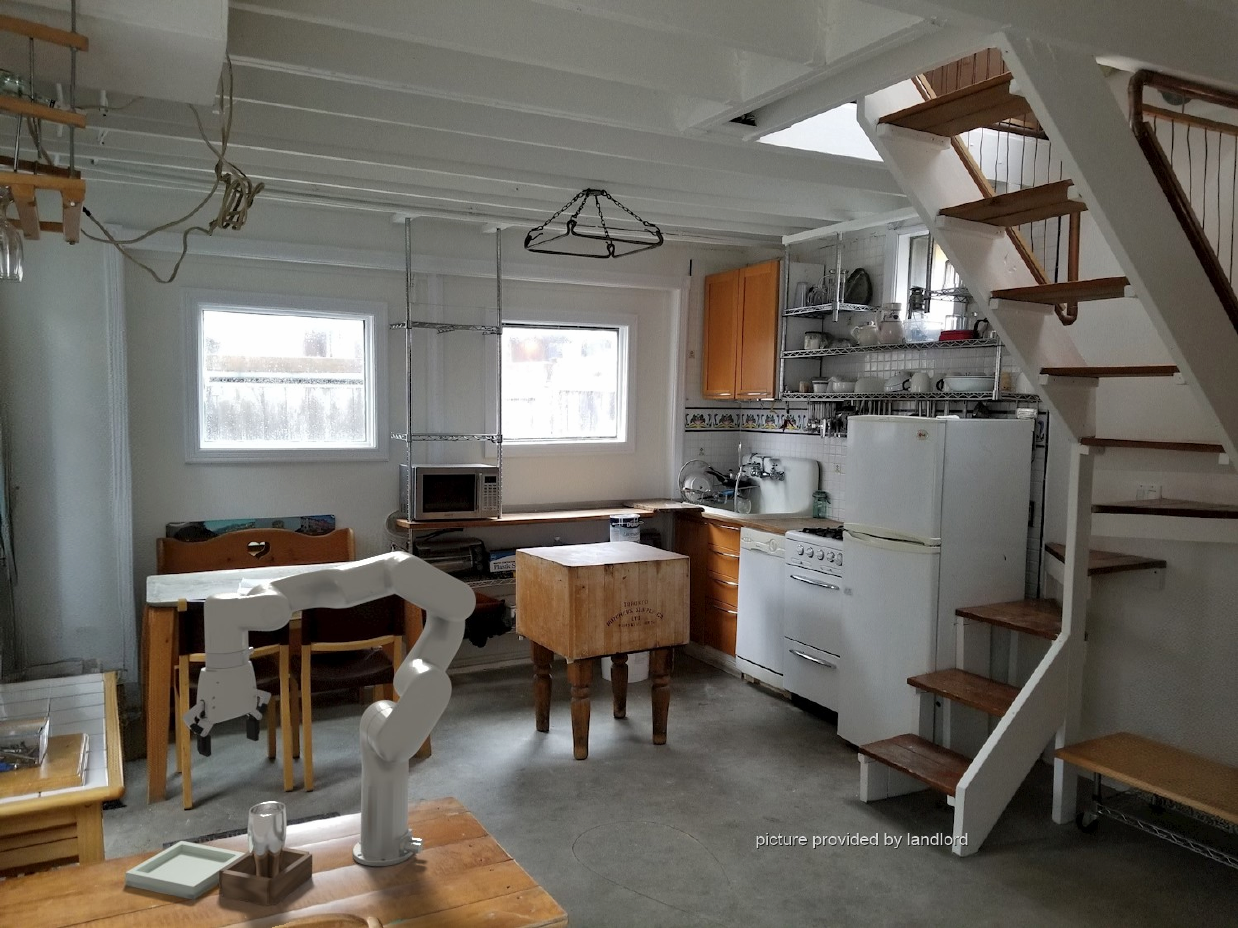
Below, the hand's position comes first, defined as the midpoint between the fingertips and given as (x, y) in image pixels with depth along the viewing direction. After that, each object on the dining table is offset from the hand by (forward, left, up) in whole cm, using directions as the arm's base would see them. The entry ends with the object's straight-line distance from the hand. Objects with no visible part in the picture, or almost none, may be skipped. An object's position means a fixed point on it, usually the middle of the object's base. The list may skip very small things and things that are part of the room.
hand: (229, 746), depth 169 cm
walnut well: (-6, -3, -27) cm, 28 cm away
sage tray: (+11, -1, -27) cm, 29 cm away
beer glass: (-6, -3, -27) cm, 28 cm away
